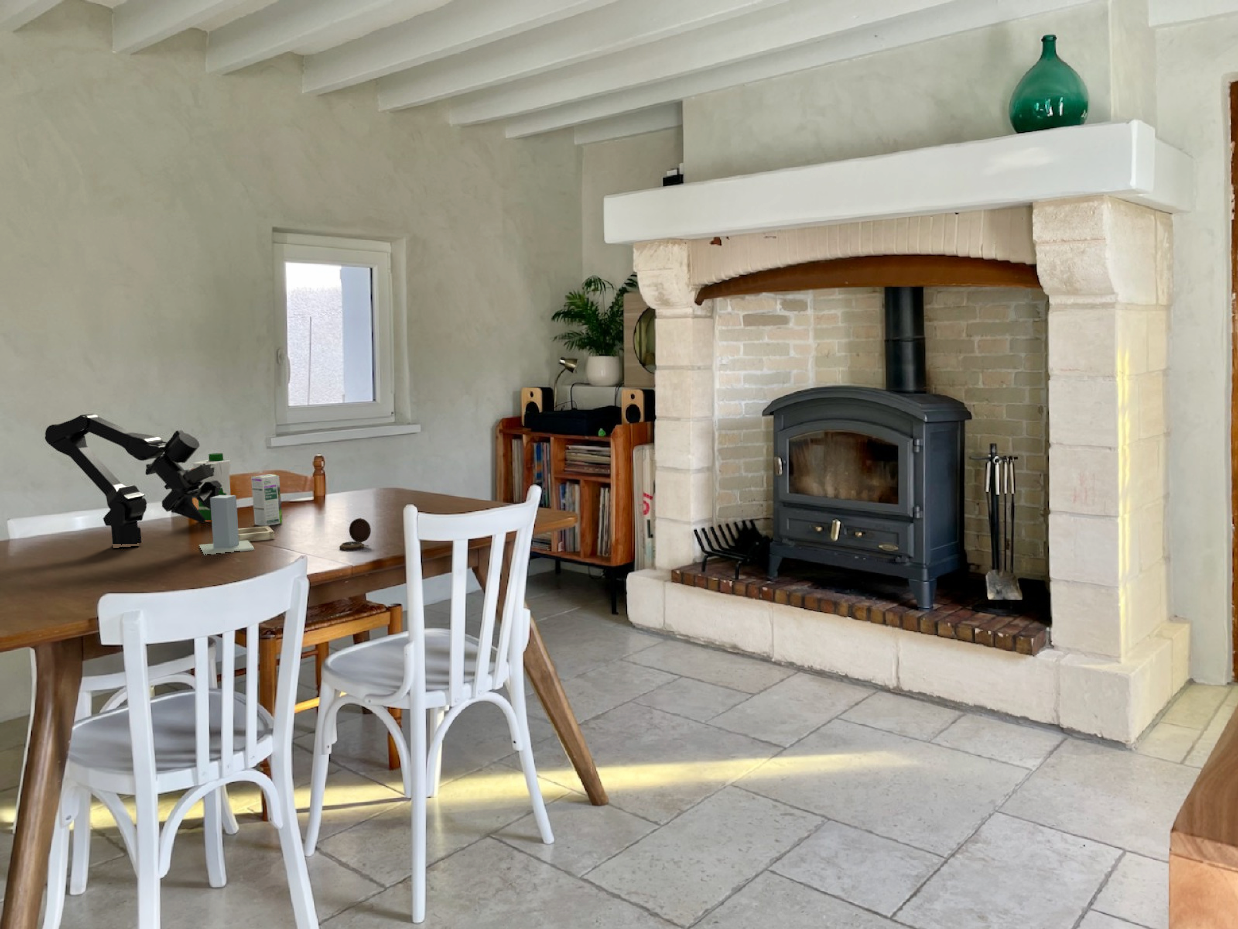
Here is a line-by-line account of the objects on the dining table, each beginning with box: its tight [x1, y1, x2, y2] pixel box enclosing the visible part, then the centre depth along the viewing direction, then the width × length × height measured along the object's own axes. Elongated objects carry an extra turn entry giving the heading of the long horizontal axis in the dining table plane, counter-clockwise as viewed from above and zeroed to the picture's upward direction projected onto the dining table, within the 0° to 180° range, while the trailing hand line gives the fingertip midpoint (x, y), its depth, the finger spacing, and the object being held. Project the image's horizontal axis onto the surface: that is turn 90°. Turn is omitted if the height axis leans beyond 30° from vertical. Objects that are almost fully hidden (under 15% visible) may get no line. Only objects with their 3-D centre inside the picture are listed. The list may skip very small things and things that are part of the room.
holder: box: [238, 526, 275, 542], centre depth 273 cm, size 10×10×2 cm
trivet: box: [198, 540, 255, 556], centre depth 259 cm, size 12×12×1 cm
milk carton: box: [192, 452, 231, 520], centre depth 301 cm, size 9×9×20 cm
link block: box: [210, 494, 239, 548], centre depth 259 cm, size 4×4×13 cm
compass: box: [338, 517, 372, 551], centre depth 257 cm, size 8×8×7 cm
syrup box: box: [250, 473, 283, 527], centre depth 294 cm, size 6×6×14 cm
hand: (214, 518), depth 259 cm, fingers open, 9 cm apart
